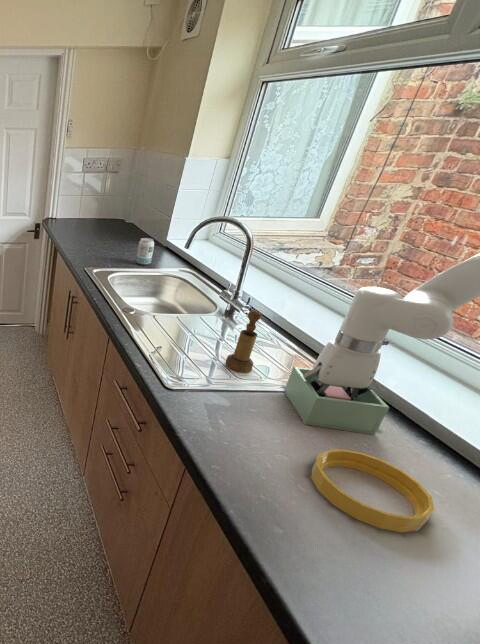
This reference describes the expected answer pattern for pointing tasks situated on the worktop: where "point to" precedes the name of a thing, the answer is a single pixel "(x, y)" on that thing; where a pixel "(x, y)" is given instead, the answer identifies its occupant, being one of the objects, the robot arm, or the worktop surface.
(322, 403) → the bin
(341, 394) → the pink toy cube
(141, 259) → the beverage can
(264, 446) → the worktop surface
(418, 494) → the yellow bangle
